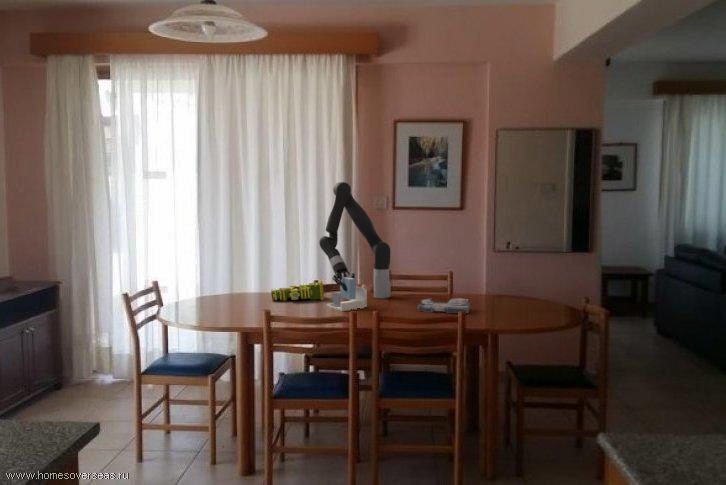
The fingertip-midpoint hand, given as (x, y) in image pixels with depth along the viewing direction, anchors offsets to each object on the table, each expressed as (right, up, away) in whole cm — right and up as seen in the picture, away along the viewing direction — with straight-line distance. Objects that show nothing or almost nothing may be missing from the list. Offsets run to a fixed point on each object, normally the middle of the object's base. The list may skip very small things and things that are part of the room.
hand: (349, 289), depth 338 cm
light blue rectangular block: (-1, -4, +2) cm, 5 cm away
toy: (-31, -8, +25) cm, 41 cm away
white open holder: (-2, -9, +3) cm, 10 cm away
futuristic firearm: (+51, -11, -5) cm, 52 cm away
